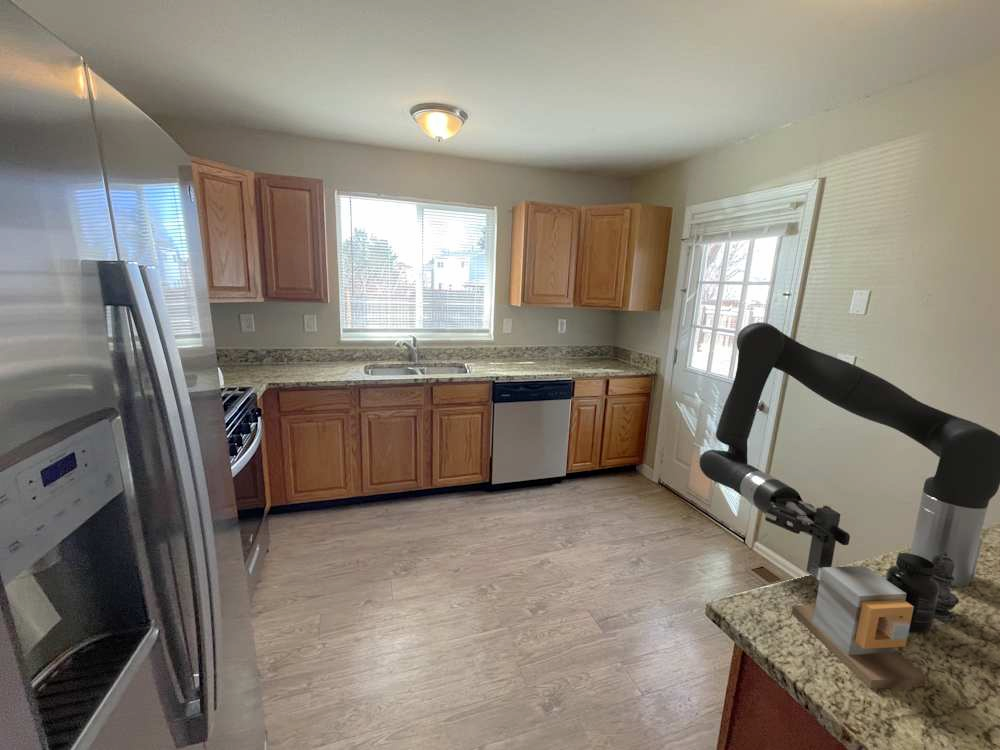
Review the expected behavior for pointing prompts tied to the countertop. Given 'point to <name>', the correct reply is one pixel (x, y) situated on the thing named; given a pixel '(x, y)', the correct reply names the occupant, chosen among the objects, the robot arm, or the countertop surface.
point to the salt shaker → (944, 586)
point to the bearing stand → (856, 625)
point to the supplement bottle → (916, 588)
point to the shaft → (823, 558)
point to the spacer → (869, 623)
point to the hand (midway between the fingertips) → (839, 540)
